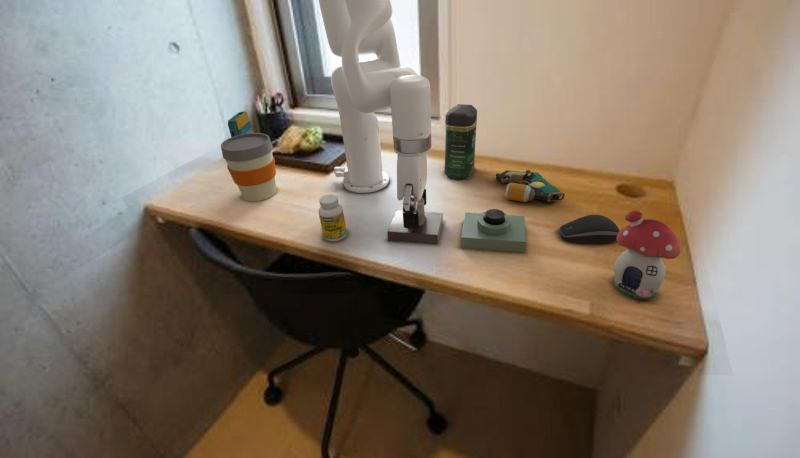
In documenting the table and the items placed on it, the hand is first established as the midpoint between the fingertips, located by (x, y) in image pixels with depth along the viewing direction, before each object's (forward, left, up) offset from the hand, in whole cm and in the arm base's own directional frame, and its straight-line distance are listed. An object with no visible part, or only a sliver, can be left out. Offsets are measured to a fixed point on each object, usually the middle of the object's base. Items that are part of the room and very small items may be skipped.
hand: (415, 215), depth 91 cm
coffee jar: (+7, +31, -4) cm, 32 cm away
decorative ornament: (+42, -13, -4) cm, 44 cm away
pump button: (+17, 0, 0) cm, 17 cm away
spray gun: (+25, +22, -4) cm, 34 cm away
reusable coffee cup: (-46, +13, -4) cm, 48 cm away
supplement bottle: (-18, -4, -4) cm, 19 cm away
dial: (0, 0, -2) cm, 2 cm away
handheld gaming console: (-59, +32, -4) cm, 67 cm away
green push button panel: (+17, 0, -4) cm, 17 cm away
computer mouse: (+37, +3, -4) cm, 37 cm away
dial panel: (0, 0, -4) cm, 4 cm away
